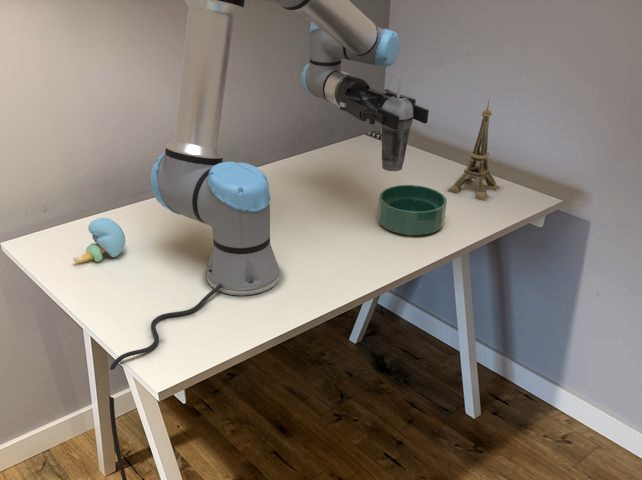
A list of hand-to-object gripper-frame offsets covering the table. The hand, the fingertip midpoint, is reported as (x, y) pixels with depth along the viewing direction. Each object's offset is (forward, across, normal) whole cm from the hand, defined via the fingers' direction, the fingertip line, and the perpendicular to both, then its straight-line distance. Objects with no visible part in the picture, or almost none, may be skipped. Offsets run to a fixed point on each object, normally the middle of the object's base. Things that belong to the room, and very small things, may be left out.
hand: (412, 119), depth 141 cm
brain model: (-28, +62, -28) cm, 74 cm away
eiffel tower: (-13, -36, -28) cm, 48 cm away
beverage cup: (-5, 0, -12) cm, 13 cm away
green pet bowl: (-6, -8, -28) cm, 30 cm away
